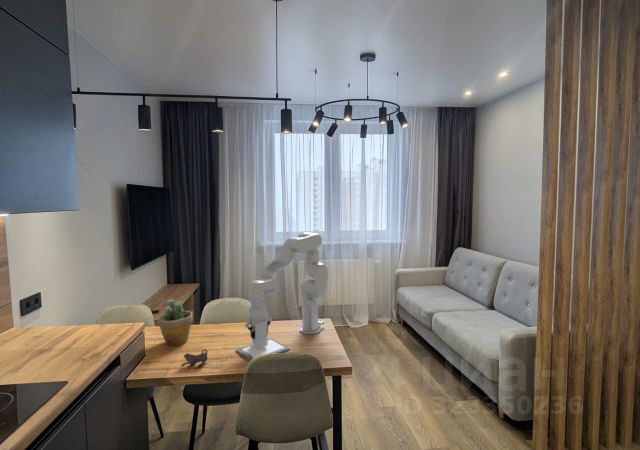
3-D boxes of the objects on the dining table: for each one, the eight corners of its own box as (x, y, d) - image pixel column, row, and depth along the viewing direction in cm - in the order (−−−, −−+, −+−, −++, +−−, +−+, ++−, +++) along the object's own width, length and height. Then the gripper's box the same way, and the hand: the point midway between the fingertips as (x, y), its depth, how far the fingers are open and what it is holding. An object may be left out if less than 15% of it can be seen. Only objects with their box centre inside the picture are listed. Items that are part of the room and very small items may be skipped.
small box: (268, 345, 180) (267, 322, 179) (256, 348, 177) (255, 324, 176) (262, 340, 187) (261, 317, 186) (251, 343, 184) (250, 319, 183)
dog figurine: (208, 361, 169) (208, 346, 169) (207, 366, 164) (206, 351, 163) (183, 363, 167) (182, 349, 167) (180, 369, 161) (180, 354, 161)
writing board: (271, 339, 193) (271, 336, 193) (289, 350, 180) (289, 346, 179) (235, 351, 180) (235, 347, 179) (252, 363, 166) (252, 359, 166)
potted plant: (151, 345, 189) (149, 301, 187) (179, 333, 206) (177, 293, 204) (174, 351, 181) (171, 305, 179) (201, 338, 197) (199, 296, 195)
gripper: (268, 298, 189) (269, 329, 190) (240, 305, 178) (241, 338, 179) (275, 301, 183) (277, 333, 184) (246, 309, 172) (247, 343, 173)
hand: (259, 335), depth 182 cm, fingers closed on small box, 6 cm apart
